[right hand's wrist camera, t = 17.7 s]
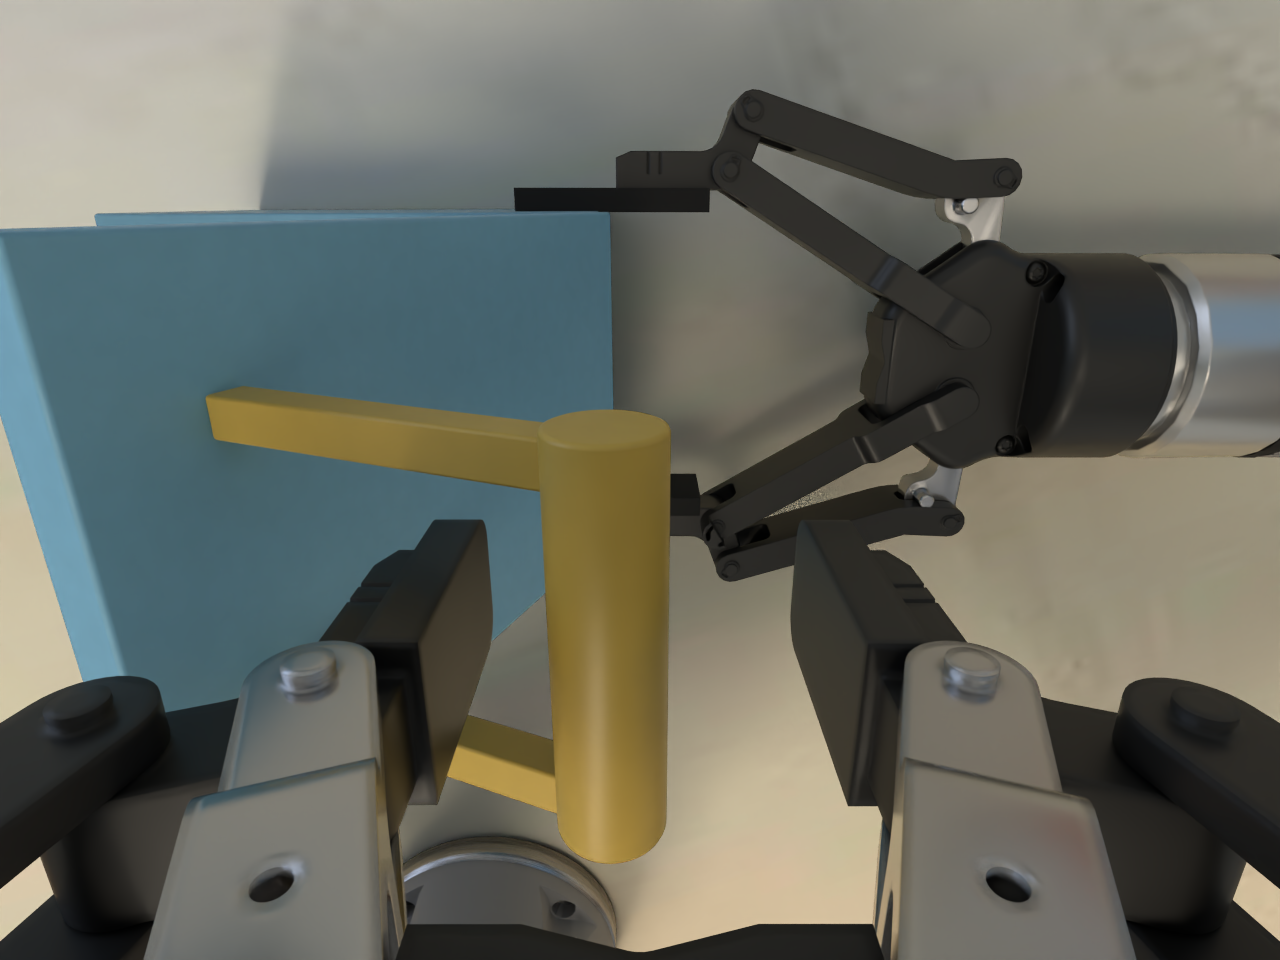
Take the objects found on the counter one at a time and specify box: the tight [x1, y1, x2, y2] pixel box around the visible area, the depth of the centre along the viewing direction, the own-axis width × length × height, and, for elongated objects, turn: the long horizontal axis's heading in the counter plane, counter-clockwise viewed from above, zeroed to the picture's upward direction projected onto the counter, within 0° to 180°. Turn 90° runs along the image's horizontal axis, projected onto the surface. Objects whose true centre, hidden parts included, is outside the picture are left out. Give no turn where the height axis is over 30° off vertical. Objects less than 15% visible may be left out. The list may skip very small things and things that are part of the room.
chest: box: [95, 209, 609, 226], centre depth 30 cm, size 16×10×11 cm
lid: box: [0, 212, 671, 864], centre depth 16 cm, size 16×10×8 cm
